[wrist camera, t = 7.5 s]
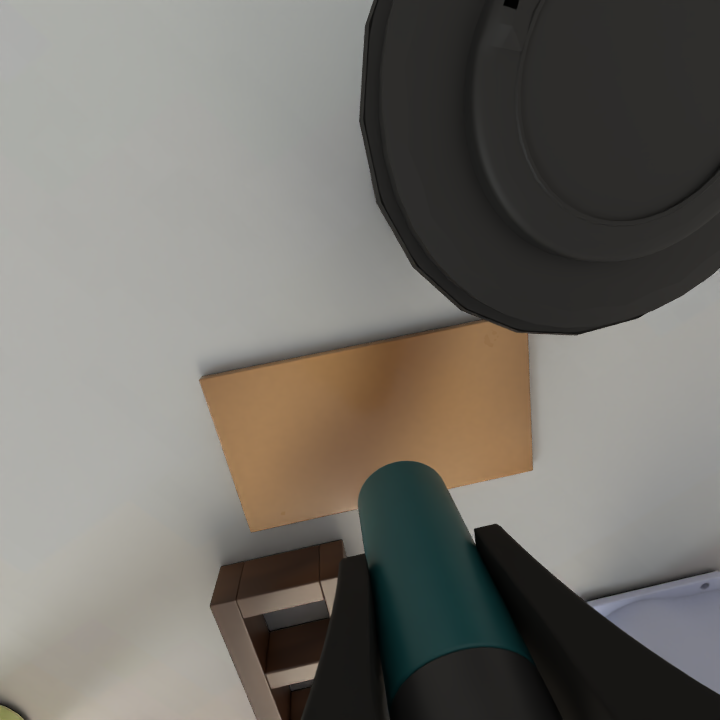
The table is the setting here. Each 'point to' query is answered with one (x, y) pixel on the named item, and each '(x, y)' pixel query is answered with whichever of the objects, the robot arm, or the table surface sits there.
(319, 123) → the table surface
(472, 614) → the teal capped bottle
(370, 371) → the cork mat
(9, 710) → the tube
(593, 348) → the table surface
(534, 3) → the coffee cup
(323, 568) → the pen stand
